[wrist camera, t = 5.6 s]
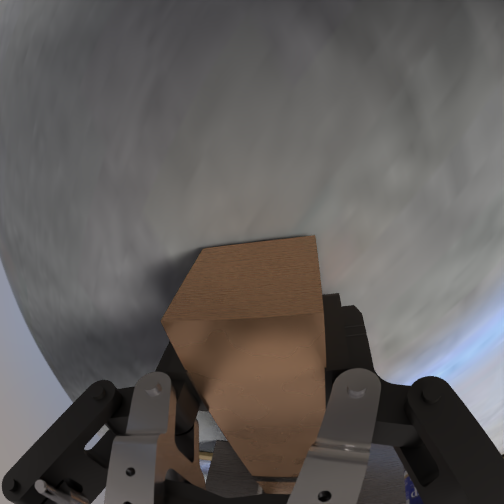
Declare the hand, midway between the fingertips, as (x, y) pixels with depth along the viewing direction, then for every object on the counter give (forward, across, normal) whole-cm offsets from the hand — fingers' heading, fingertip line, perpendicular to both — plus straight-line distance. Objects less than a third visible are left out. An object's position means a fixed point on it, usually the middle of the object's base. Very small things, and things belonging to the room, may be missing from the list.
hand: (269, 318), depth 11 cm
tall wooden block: (+1, 0, +6) cm, 7 cm away
